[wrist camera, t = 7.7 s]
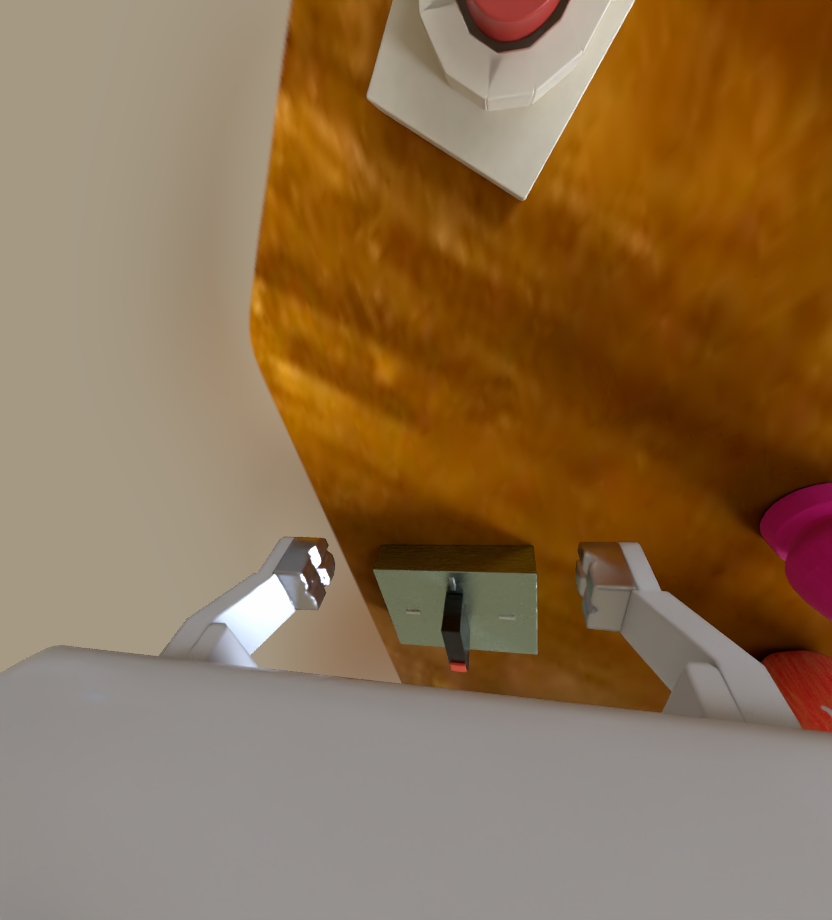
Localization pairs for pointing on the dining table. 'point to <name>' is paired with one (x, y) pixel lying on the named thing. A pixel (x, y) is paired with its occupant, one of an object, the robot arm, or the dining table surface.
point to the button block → (490, 82)
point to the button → (510, 17)
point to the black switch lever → (456, 632)
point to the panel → (462, 593)
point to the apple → (804, 685)
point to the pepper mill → (804, 542)
